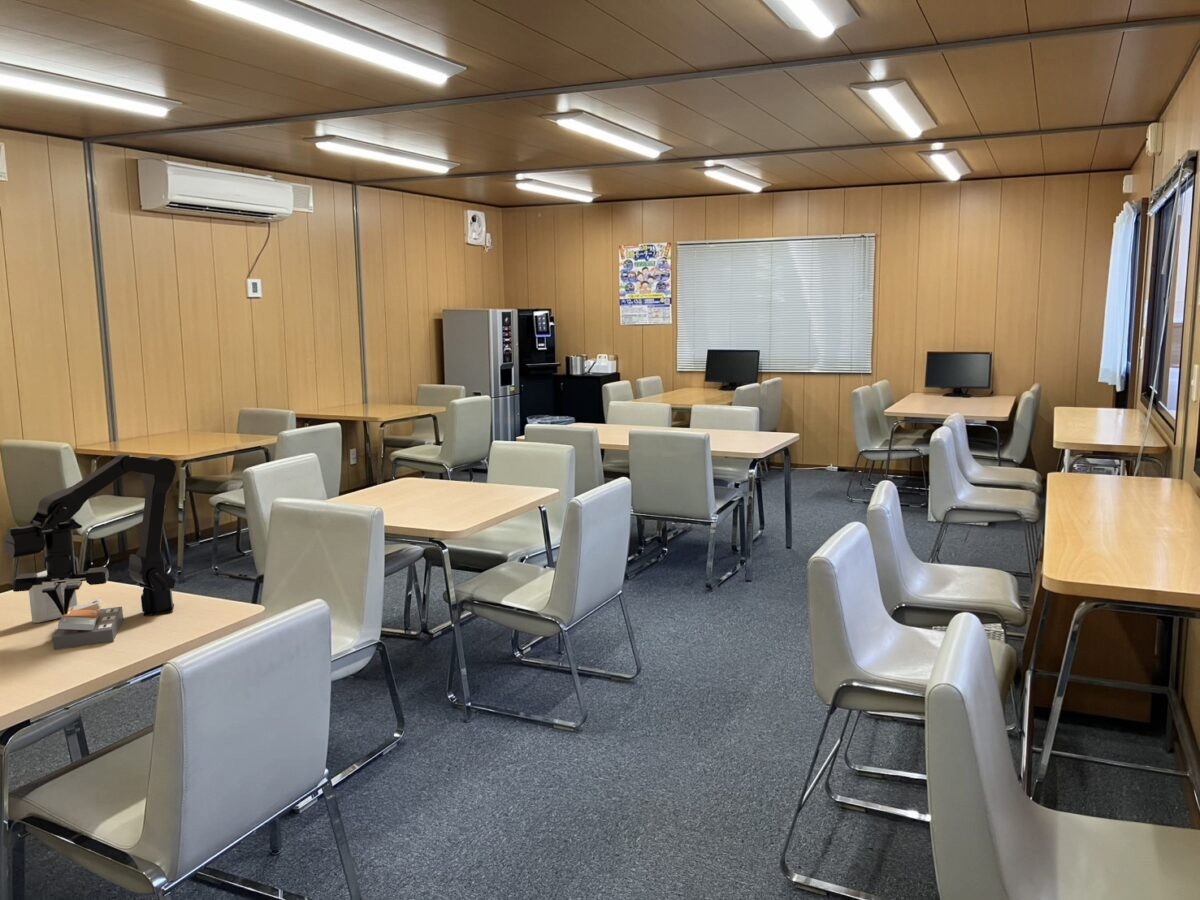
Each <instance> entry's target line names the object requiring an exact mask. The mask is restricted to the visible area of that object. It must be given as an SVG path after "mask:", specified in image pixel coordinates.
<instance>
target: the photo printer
mask: <svg viewBox="0 0 1200 900" xmlns="http://www.w3.org/2000/svg"><path fill="white" fill-rule="evenodd" d="M36 573H37V575H38V577H41V576H47V569H45V570H43V571H40V572H36ZM65 579H69V578H65ZM52 580H57V579H52ZM66 586H67V584H66V583H61V593H62V598H63V603H64V589H65V587H66ZM42 590H43V586H42V585H33V587H32V588H31V589H30V590H29V591H28V597H29V605H30V606H29V607H30V614H31V615H30V616H31V622H32V623H34V624H38V623H43V622H48V621H51V620H57V619H61V618H62V617H63V615H62V614H61V613H60V611H59V609H58V607H57V606H56V604H55V603H54V601H53V600H52V599H51V597H50V596H49V595H48V594H47V593H42ZM76 605H79V604H78V595H77V590H75V591H74V594H73V596H72V599H71V603H70V607H73V606H76ZM70 607H69V608H70Z"/></svg>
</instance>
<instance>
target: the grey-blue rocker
mask: <svg viewBox="0 0 1200 900" xmlns="http://www.w3.org/2000/svg"><path fill="white" fill-rule="evenodd" d="M59 619H60V620H59V621H58V623H57V624H58V625H57V629H73V630H93V628H94V626H95V624H96V618H79V617H61V618H59Z"/></svg>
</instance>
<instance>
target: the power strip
mask: <svg viewBox="0 0 1200 900" xmlns="http://www.w3.org/2000/svg"><path fill="white" fill-rule="evenodd" d="M97 610H100V615H99V617H98V619H97V621H96V624H95V626H94V628H93V630H73V629H58V628H57V629H56V631H55V632H54V634H53V636H52V637H51V638H52V645H53V651H56V650H65V649H70V648H71V649H73V648H78V647H86V646H93V645H94V646H95V645H101V644H108V643H114V642H115V640H114V639H116V637H117V634H118V632H119V630H120V627H121V624H122V622H123V620H124V614H123V613H124V612H123V606H113V607H107V608H100V609H97Z"/></svg>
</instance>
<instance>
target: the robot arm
mask: <svg viewBox="0 0 1200 900" xmlns="http://www.w3.org/2000/svg"><path fill="white" fill-rule="evenodd" d="M129 472H134V473H141V481H142V484H143V487H144V490H145V495H144V496H145V497H144V506H143V515H142V523H141V532H140V533H141V534H140V543H139V548H138V550H137V552H136V553H135V554H131V553H130V554H129V555H128V560H129V562H128V563H129V565H128V567H127V569H126V570H127V571H129V577H130V578H131V579H132V580H133V581H135V582H136V583H137V584H138V587H140V588H143V589H142V593H141V595H140V601H141V603H140V604H141V612H143V616H144V617H145V616H146V617H148V616H154V615H161V614H162V615H163V614H169V613H173V612H174V608H175V603H174V601H173V599H174V598H173V593H172V592H173V591H172V589H174V588H175V585H176V582H177V580H176V579H175V578H174V577H173V576H171V575H169V574H168V573H167V572H166V570H165V569H166V568H165V567H166V565H165V559H164V556H163V554H162V550H161V547H162V537H163V531H164V530H163V527H164V519H165V513H166V512H165V510H166V503H167V502H166V500H167V493H169V491H170V489H171V487H172V485H173V483H174V482H175V481H174V480H175V478H176V474H177V465H176V463H175V462H174V460H173V459H171V458H168V457H162V456H154V455H153V456H151V455H150V456H148V457H147V458H143V457H136V456H133V455H131V454H130V455H129V454H125V453H119V454H117V455H115V457H114V458H113V459H111V460H110V461H108V462H107V463H105V464H104V465H102V466H100V468H97V470H95V471H93V472H91V473H90V474H89V475H87V476H86V477H84V478H82V479H81V480H80V481H77V483H76V484H73V485H72V486H70V487H67V488H64V489H61V490H58V491H55V492H53V493H50V494H49V495H47V496H44V497H43V498H41V499H40V500H39V502H38V505H37V510H36V512H35V513H34V515H33V517H32V518H31V520H30V521H29V522H28V525H26V526H19V527H8V528H7V529H6V530H7V532H6V533H7V534H6V535H5V538H4V541H3V545H4V550H5V553H6V555H7V557H8V558H9V559H10V560H11V559H17V558H21V557H22V558H23V557H27V556H28V557H29V556H33V555H34V556H35V555H38V554H41V551H44V553H45V554H44V559H43V568H44V569H45V570H47V576H41V577H38V575H37V573H38V572H31V573H19V574H18V575H17V577H16V578H15V579H14V580H13V581H12V591H13V592H14V593H17V592H27V591H28V592H29V590H30V589H31V588H32V587H33V585H42V586H43V590H42V593H47V594H48V595H49V596H50V597H51V599H52V600H53V601H54V603H55V604H56V606H57V607H58V609H59V611H60V613H61V614H62V615H64V613H65V614H67V613H68V610H69V607H70V603H71V599H72V596H73V594H74V591H75V590H76V591H78V590H79V589H80V588H81V587H82V585H83V582H86V583H87V584H88V585H90V586H95V585H104V584H106V583H107V582H108V580H109V578H110V577H109V576H110V575H109V574H110V573H109V569H108V568H107V567H105V566H102V567H101V566H100V567H90V568H88V570H87V571H86V572H79V558H78V557H77V556H75V550H74V537H73V536H74V535H73V530H78V529H82V528H83V525H82V524H80V523H79V522H77V521H76V520H75V518H73V517H74V516H75V515H76V514H77V513H79V511H80V510H81V509H82V507H83V506H84V504H85V503H86V502H87V501H88V500H89V499H91V498H92V497H93V496H95V495H96V494H98V493H99V492H102V491H103V490H104V489H105V488H107V487H108V486H109V485H111V484H113V483H114V482H115V481H117V480H119V479H120V478H122V477H123V476H125V475H126V474H127V473H129ZM77 572H79V573H77ZM65 578H69V579H65ZM52 579H57V580H52ZM61 583H66V584H67V586H66V587H65V589H64V603H63V598H62V593H61Z"/></svg>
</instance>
